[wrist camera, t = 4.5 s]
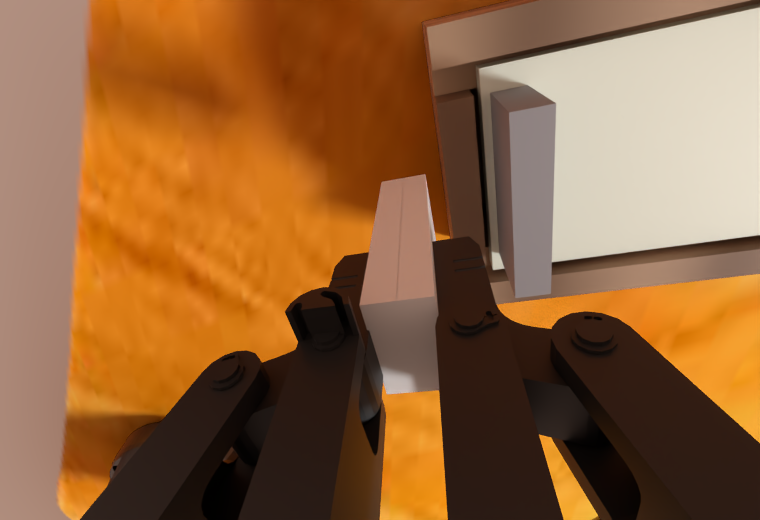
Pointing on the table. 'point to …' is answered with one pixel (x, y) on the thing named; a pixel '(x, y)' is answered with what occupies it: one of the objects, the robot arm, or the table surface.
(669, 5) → the box
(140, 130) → the table surface
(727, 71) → the lid
